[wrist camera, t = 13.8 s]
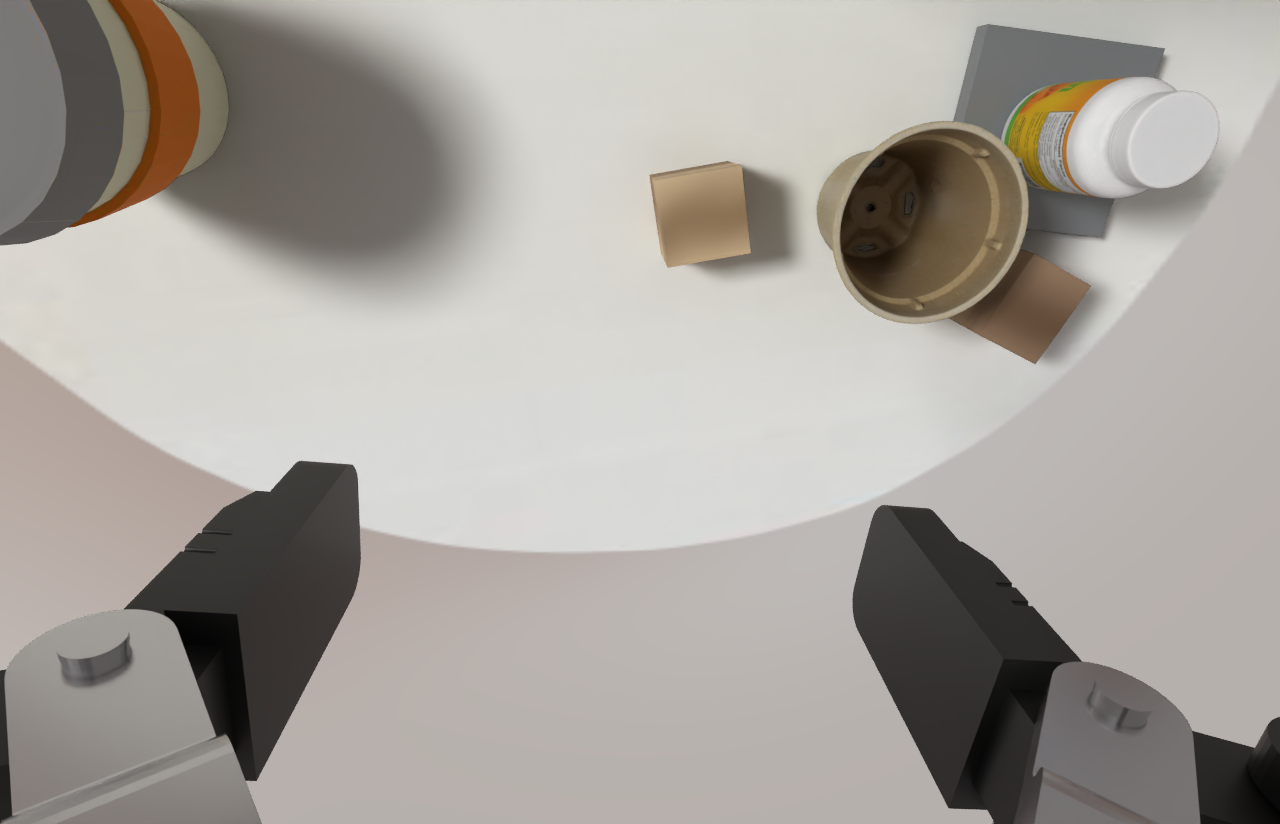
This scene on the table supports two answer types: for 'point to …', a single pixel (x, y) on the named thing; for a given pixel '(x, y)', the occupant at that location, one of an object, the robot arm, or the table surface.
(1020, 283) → the walnut block
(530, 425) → the table surface
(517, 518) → the table surface
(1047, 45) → the coaster
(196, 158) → the reusable coffee cup
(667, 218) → the oak cube
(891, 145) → the flower pot
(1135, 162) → the supplement bottle
